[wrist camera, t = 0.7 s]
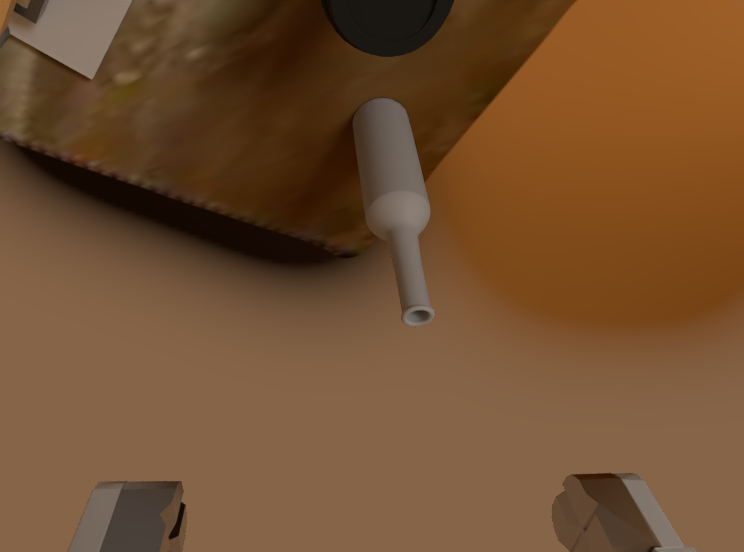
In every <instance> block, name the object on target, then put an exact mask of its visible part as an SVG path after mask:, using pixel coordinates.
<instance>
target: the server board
mask: <svg viewBox="0 0 744 552" xmlns="http://www.w3.org/2000/svg"><path fill="white" fill-rule="evenodd" d="M131 2H132V0H49V2H48V4H47V7H46V10H45V12H44V13H43V15H42V16H41V17H40V19H39V20H38V21H37V23H36V24H35V23H33V22H31V21H30V20H28V19H26V18H24V17H23V16H21V15H19V14H18V13H16V12H14V11H13V13H12V16H11V19H10V21H9V24H8V27H9V30H10V34H11V35H13V36H15V37H16V38H18V39H20V40H22V41H24V42H25V43H27V44H29V45H31V46H33V47H34V48H36V49H38V50H40V51H42V52H43V53H45V54H47V55H49V56H50V57H52V58H54V59H56V60H58V61H59V62H61V63H63V64H65V65H67V66H68V67H70V68H72V69H74V70H76V71H77V72H79V73H81V74H83V75H84V76H86V77H88V78H90V79H93V77H94V75H95V73H96V71H97V69H98V67H99V65H100V63H101V61H102V59H103V57H104V55H105V53H106V51H107V49H108V47H109V45H110V43H111V41H112V40H113V38H114V36H115V34H116V32H117V30H118V28H119V26H120V24H121V22H122V20H123V18H124V16H125V14H126V12H127V10H128V8H129V6H130V4H131Z"/></svg>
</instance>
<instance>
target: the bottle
mask: <svg viewBox="0 0 744 552" xmlns="http://www.w3.org/2000/svg"><path fill="white" fill-rule="evenodd" d="M352 124H353V132H354V140H355V148H356V155H357V162H358V168H359V175H360V182H361V189H362V196H363V203H364V209H365V216H366V223H367V225H368V227H369V229H370V230H371V231H372V232H373V233H374V234H375V235H376V236H378V237H379V238H380V239H383V240H385V241H387V242H388V245H389V250H390V253H391V257H392V261H393V265H394V269H395V275H396V281H397V286H398V291H399V297H400V303H401V308H402V315H401V320H402V321H403V323H404V324H406V325H409V326H415V327H416V326H422V325H425V324H427V323H429V322H430V321H431V320H432V319H433V317H434V311H433V309H432V308H431V307H430V304H429V298H428V293H427V289H426V284H425V279H424V274H423V269H422V264H421V258H420V250H419V243H418V234H420V233H421V232H422V230H423V229H424V228H425V226H426V224H427V222H428V220H429V218H430V205H429V201H428V197H427V193H426V189H425V184H424V180H423V176H422V172H421V168H420V164H419V159H418V155H417V151H416V147H415V143H414V139H413V134H412V130H411V127H410V123H409V119H408V115H407V113H406V110H405V108H404V107H403V106H402V105H401V104H400V103H399V102H397V101H395V100H393V99H390V98H375V99H372V100H369V101H367V102H366V103H364V104H363V105H361V106H360V107H359V108H358V110H357V111H356V113H355V115H354V118H353V122H352Z"/></svg>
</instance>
